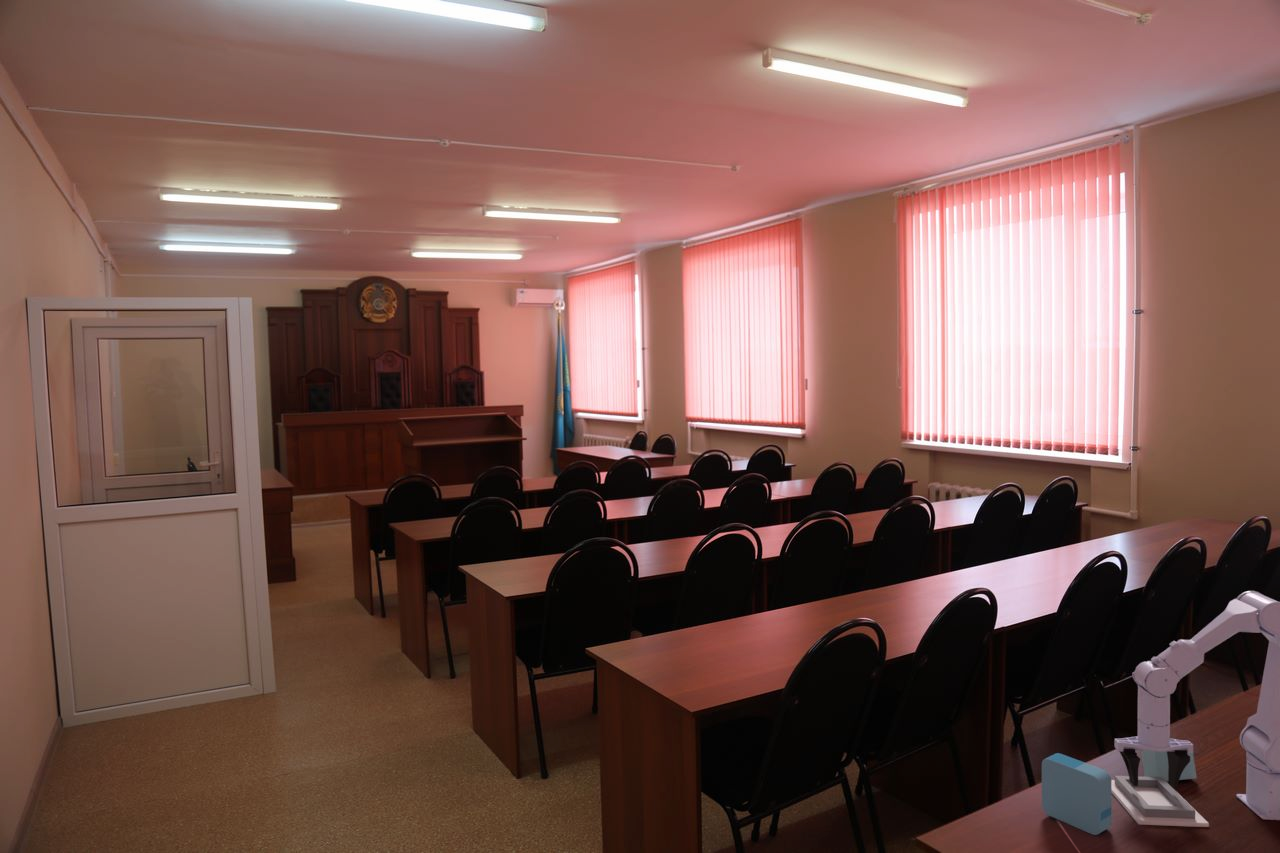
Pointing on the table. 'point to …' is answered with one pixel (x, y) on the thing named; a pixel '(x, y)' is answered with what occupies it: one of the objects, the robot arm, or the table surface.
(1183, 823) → the socket plate
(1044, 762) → the data package
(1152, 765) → the key block
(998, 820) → the table surface
